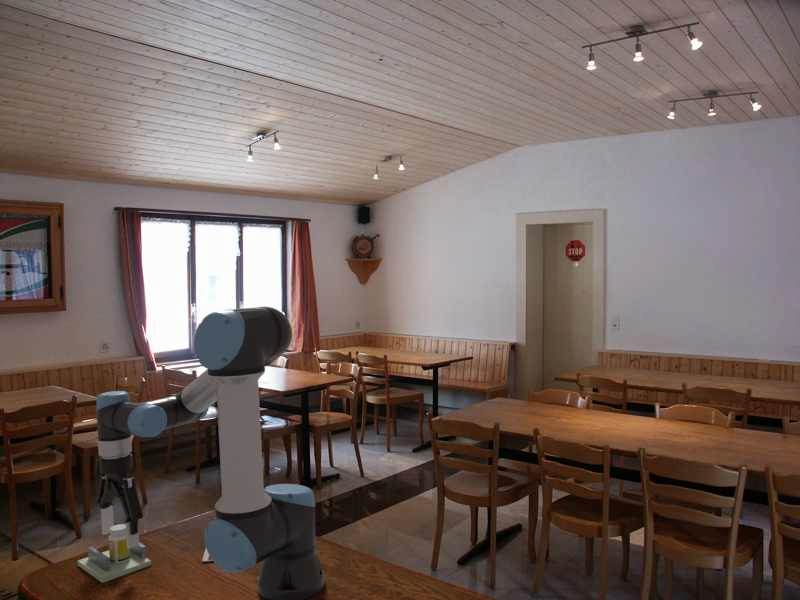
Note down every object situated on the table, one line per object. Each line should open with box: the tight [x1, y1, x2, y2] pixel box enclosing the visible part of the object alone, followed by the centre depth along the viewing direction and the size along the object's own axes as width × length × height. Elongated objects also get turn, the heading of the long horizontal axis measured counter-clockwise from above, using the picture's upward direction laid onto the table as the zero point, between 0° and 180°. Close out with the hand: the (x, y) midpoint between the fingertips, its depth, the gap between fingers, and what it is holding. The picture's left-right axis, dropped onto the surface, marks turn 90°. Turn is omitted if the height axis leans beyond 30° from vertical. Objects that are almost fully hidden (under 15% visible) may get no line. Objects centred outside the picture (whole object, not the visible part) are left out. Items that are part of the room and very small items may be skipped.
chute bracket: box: [87, 541, 147, 572], centre depth 165 cm, size 10×10×3 cm
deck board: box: [77, 549, 152, 584], centre depth 164 cm, size 14×12×1 cm
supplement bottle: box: [108, 523, 130, 564], centre depth 164 cm, size 5×5×8 cm
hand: (120, 539), depth 164 cm, fingers open, 13 cm apart
